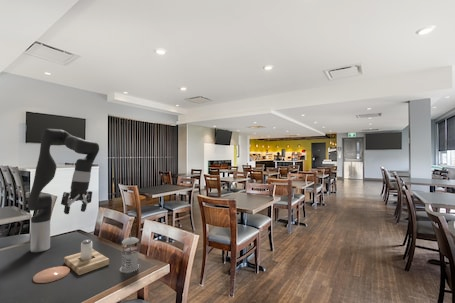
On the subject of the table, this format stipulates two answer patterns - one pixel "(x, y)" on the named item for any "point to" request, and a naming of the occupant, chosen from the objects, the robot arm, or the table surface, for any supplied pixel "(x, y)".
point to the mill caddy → (86, 262)
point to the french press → (129, 254)
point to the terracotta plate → (51, 274)
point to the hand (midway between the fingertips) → (74, 212)
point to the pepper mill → (86, 250)
